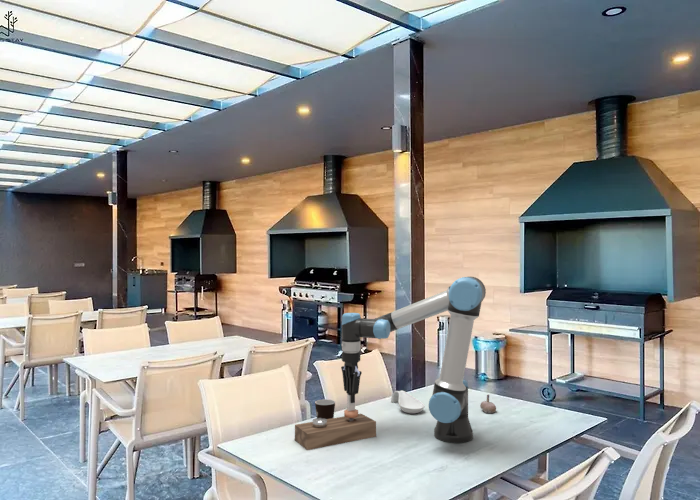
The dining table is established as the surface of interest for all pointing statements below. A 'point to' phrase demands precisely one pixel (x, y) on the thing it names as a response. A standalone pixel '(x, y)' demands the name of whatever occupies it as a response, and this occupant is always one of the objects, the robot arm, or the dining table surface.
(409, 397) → the spoon rest
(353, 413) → the terracotta plunger
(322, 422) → the grey plunger
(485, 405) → the garlic bulb
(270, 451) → the dining table surface
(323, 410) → the coffee mug
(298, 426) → the button block
